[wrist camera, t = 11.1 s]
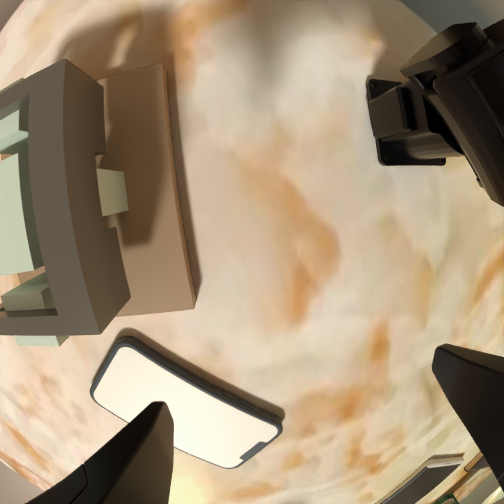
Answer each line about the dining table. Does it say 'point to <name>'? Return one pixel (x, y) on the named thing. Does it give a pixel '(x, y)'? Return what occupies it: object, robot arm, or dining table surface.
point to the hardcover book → (477, 463)
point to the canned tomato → (446, 499)
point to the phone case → (183, 405)
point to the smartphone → (422, 481)
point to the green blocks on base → (106, 202)
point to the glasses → (67, 204)
